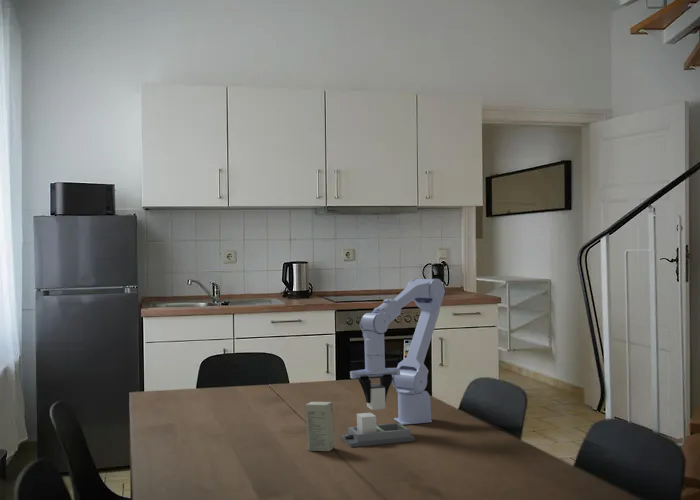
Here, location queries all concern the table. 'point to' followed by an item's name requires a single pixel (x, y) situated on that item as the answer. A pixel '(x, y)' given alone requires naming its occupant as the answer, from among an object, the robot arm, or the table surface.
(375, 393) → the plug
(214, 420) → the table surface
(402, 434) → the socket board
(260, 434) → the table surface
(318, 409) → the skincare box
